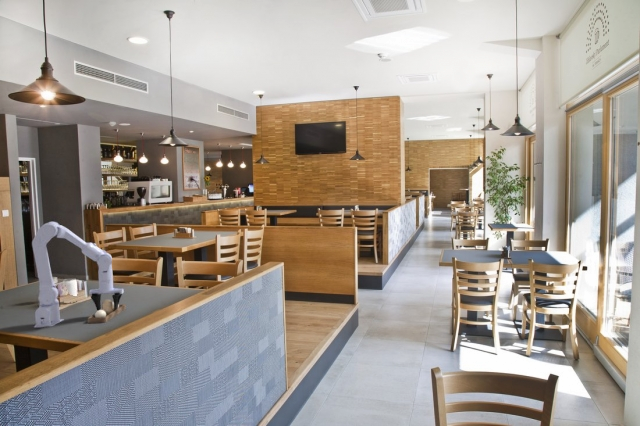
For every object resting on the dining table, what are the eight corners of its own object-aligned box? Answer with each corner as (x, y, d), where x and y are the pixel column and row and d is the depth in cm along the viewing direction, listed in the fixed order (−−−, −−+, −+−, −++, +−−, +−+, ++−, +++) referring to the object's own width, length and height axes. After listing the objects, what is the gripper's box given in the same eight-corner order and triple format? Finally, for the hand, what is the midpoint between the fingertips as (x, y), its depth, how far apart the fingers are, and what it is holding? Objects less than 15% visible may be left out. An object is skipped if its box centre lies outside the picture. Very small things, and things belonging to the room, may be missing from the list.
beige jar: (110, 316, 198) (109, 300, 198) (100, 316, 198) (99, 301, 198) (114, 313, 202) (114, 298, 202) (105, 313, 202) (104, 298, 202)
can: (71, 304, 223) (70, 280, 223) (60, 303, 225) (59, 280, 224) (80, 300, 230) (79, 278, 229) (70, 300, 231) (68, 277, 230)
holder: (105, 323, 190) (105, 317, 190) (87, 324, 190) (87, 318, 189) (125, 309, 211) (125, 304, 211) (109, 310, 211) (109, 304, 211)
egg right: (116, 312, 205) (116, 302, 205) (107, 312, 205) (106, 303, 204) (120, 309, 209) (120, 300, 209) (111, 309, 209) (110, 300, 209)
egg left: (103, 321, 191) (103, 311, 191) (93, 321, 191) (92, 311, 191) (108, 318, 196) (107, 308, 195) (98, 318, 196) (97, 308, 195)
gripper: (125, 277, 203) (127, 306, 204) (93, 278, 203) (95, 307, 204) (119, 281, 196) (120, 311, 197) (86, 281, 196) (87, 312, 197)
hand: (107, 309), depth 200 cm, fingers open, 7 cm apart
